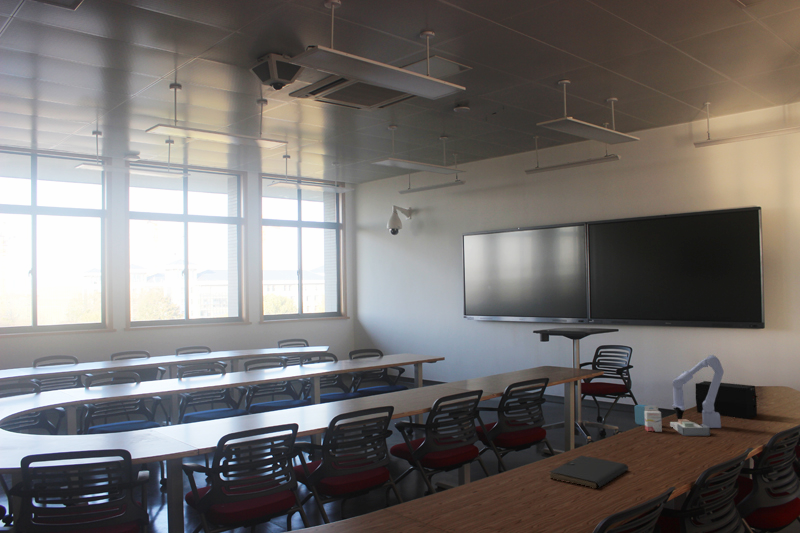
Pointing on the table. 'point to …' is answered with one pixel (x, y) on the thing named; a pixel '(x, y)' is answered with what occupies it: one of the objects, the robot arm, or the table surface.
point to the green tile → (688, 424)
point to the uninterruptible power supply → (729, 399)
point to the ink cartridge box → (652, 419)
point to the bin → (694, 431)
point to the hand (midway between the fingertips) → (679, 419)
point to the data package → (640, 414)
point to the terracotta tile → (682, 420)
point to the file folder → (589, 471)
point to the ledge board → (674, 425)
